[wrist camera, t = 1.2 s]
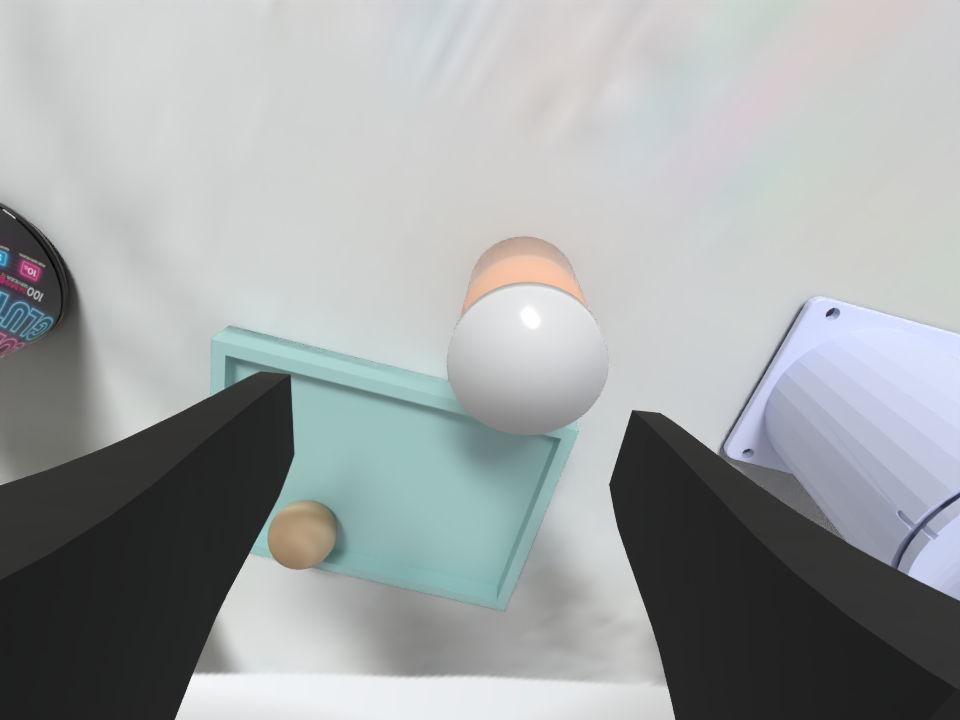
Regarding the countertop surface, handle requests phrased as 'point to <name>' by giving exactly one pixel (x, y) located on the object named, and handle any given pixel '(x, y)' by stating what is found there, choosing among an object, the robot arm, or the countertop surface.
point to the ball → (302, 534)
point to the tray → (403, 470)
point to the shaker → (526, 341)
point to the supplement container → (28, 283)
